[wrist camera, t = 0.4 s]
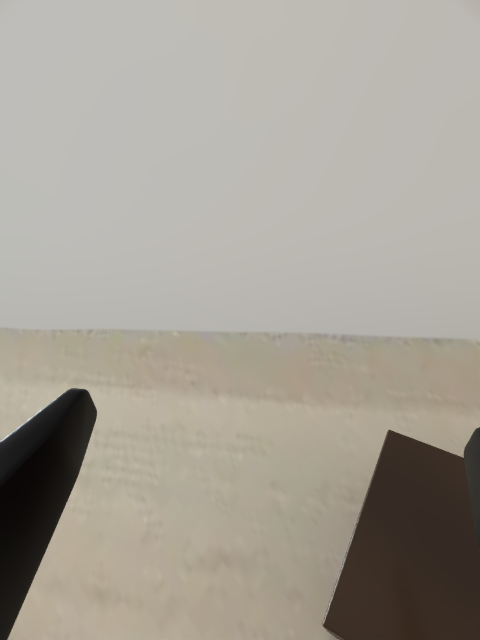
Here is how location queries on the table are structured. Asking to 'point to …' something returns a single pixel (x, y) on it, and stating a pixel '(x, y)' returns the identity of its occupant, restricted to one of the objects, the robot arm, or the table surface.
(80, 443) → the robot arm
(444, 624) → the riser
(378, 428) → the table surface
